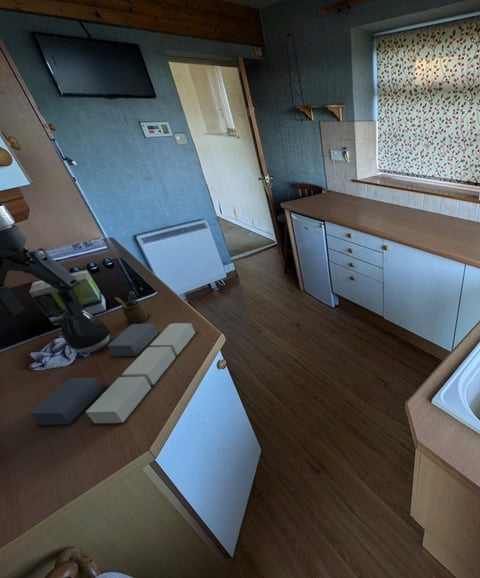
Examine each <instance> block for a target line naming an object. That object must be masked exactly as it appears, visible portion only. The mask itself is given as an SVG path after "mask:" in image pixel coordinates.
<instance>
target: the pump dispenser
mask: <svg viewBox="0 0 480 578" xmlns="http://www.w3.org/2000/svg"><path fill="white" fill-rule="evenodd" d="M50 323H51V324H52V325H53V324H57V325H59V324H58V323H61V324H60V329H61V334H62V337H63V339H64V342H65V343H66V346H67V347H68V348H69V349H71V350H73V351H74V352H77V351H78V353H81V352H87V353H86V354H88V353H89V354H90V353H93V352H96V351H99V350H101V349H102V348H104V347H105V346H106V345H108V344H109V341H110V332H111V331H110V329H109V328H108V326H107V325H105V324H104V322H102V320H100V318H98V317H97V316H96V315H94V314H91V313H90V312H88V311H86V310H84V309H83V310H82V311H81V312H79V313H78V314H76V315H75V316H71V314H70V312H69V311H68V310H66V311H65V312H64V313H63V314H62V317H61V319H57V320H53V321H50Z"/></svg>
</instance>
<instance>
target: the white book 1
mask: <svg viewBox="0 0 480 578" xmlns="http://www.w3.org/2000/svg"><path fill="white" fill-rule="evenodd" d="M151 389H152V385H149V383H148V381H147V380H146V378H145V377H123V376H121V377H120V376H118V377H117V378H116V380H115V381H114V382H113V383H112V384H110V386H109V387H108V388H107V389H106V390H105V391H104V392H103V393H102V394H101V395H100V396H99V397H98V399H97V400H96V401H95V402H94V403H92V405H91V406H90V407H88V409H87V410H85V414H86V415H87V416H88V418H90V420H91V421H92V423H94V424H123V423H124V422H125V421H126V420H127V418H128V417H129V416H130V415H131V414H132V413H133V411H134V410H135V408H136V407H137V406H138V405H139V404H140V402H141V401H142V400H143V399H144V398H145V396H146V395H147V394H148V392H149V391H150V390H151Z"/></svg>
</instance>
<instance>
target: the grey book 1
mask: <svg viewBox="0 0 480 578" xmlns="http://www.w3.org/2000/svg"><path fill="white" fill-rule="evenodd" d="M104 390H105V388H104V386H103V385H102V383H101V382H100V380H98V378H97V377H69V379H67V380H66V381H65V382H63V384H62V385H61V386H59V387H58V388H57V389H56V390H55V391H54V392H53V393H51V394H50V395H49V396H48V397H46V399H44V400H43V402H41V403H39V405H38V406H36V407H35V408H34V409H33V410H32V411H31V412H30V413H29V414H30V415H31V417H33V419H35V420H36V422H38V423H39V424H40V426H44V425H49V426H50V425H71V424H72V423H73V422H74V421H75V419H77V417H78V416H79V415H80V414H82V412H83V411H84V410H85V409H86V408H87V407H88V406H89V405H90V404H91V403H92V402H93V401H94V400H95V399H96V398H97V397H98V396H99V395H100V394H101V393H102V392H103V391H104Z"/></svg>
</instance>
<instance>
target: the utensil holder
mask: <svg viewBox="0 0 480 578" xmlns="http://www.w3.org/2000/svg"><path fill="white" fill-rule="evenodd" d="M132 293H133V292H130V294H131V298H132V300H131V299H130V297H127V298H128V301H127V302H124V301H123V300H122V299H121V298H120V297H115V296H114V299H115V300H116V301H117V302H118V304H121V309H122V310H123V311H122V312H123V315H124V317H125V319H126V320H127V322H128V323H129V324H131V325H132V324H140V323H142V322H145V321H146V320H147V319H148V314H147V311H146V310H145V308H144V306H143V305H142V304H141V302H140V301H139V300H138V299H137V298H138V297H137V295H135V296H133V294H132ZM133 297H135V298H133ZM134 299H135V300H134Z"/></svg>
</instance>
